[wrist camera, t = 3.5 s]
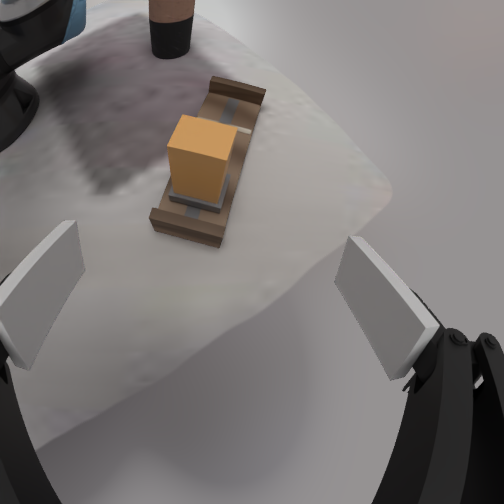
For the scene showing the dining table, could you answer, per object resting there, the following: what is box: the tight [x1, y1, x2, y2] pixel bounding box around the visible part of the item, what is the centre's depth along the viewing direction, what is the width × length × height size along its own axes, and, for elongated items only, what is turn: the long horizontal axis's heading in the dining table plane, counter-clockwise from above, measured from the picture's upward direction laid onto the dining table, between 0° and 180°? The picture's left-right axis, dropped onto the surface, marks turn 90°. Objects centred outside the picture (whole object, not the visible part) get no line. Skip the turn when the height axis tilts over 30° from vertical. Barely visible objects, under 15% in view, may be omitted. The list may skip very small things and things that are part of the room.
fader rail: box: [149, 76, 266, 248], centre depth 32 cm, size 23×8×4 cm, turn 167°
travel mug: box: [149, 0, 195, 59], centre depth 29 cm, size 8×8×20 cm
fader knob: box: [167, 115, 238, 214], centre depth 26 cm, size 4×6×10 cm
